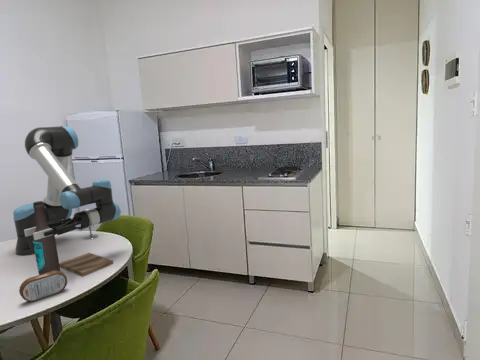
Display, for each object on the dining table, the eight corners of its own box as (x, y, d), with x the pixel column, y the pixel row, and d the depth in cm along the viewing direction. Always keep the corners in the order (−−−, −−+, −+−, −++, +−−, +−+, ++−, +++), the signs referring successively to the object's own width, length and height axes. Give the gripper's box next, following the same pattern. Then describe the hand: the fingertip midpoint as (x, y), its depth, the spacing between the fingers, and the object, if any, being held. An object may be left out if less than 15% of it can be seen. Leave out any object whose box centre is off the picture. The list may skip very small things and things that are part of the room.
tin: (67, 287, 129) (63, 266, 128) (69, 290, 127) (66, 269, 125) (21, 303, 120) (17, 280, 118) (22, 306, 117) (18, 283, 116)
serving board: (59, 266, 150) (58, 263, 150) (89, 255, 161) (88, 252, 161) (82, 276, 138) (82, 272, 138) (113, 263, 149) (112, 260, 149)
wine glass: (101, 234, 193) (98, 208, 190) (94, 239, 185) (90, 212, 182) (88, 235, 194) (84, 209, 191) (80, 239, 186) (76, 213, 183)
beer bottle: (36, 275, 137) (23, 202, 132) (55, 268, 143) (44, 198, 138) (43, 279, 132) (30, 205, 127) (63, 272, 138) (52, 200, 133)
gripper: (100, 230, 143) (43, 249, 125) (75, 224, 155) (20, 239, 137) (97, 213, 142) (39, 229, 124) (73, 208, 154) (17, 222, 136)
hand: (29, 234), depth 131 cm, fingers closed on beer bottle, 7 cm apart
